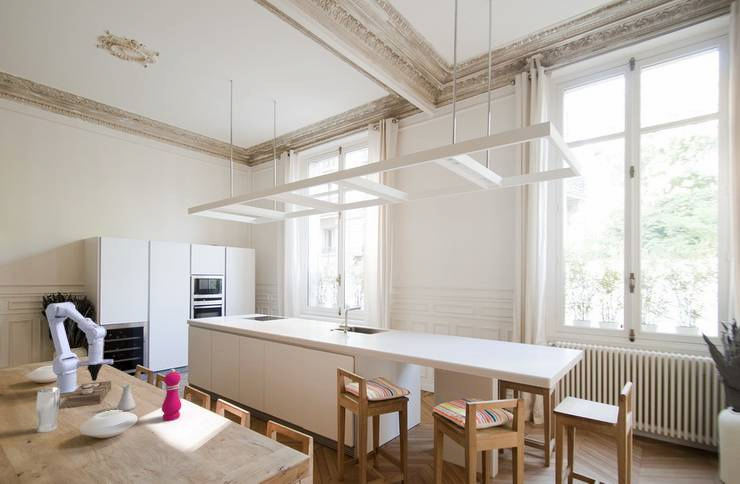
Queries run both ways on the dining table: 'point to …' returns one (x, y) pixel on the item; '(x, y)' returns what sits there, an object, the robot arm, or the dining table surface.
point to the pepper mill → (171, 397)
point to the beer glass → (47, 408)
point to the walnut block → (91, 399)
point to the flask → (126, 399)
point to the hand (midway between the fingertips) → (94, 380)
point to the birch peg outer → (87, 389)
